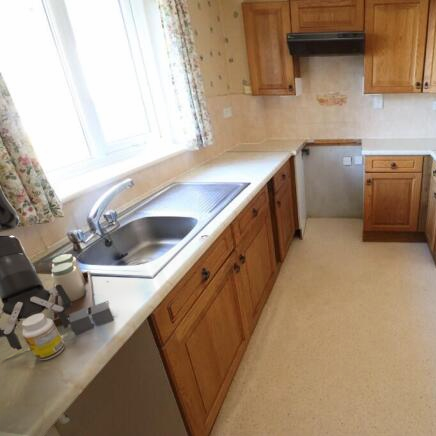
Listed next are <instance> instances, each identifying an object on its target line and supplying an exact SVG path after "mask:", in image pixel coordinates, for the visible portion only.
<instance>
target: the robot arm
mask: <svg viewBox="0 0 436 436" xmlns="http://www.w3.org/2000/svg"><path fill="white" fill-rule="evenodd" d="M19 224H20V216H19V214H18V212H17V210H16V209H15V208H14V206H12V204H11V203H10V201H9V200H8V198H7V197H6V195H5V193H4V191H3V189H2V186H1V185H0V234H1V233H6V232H11V231H14V230H15V229H16V228H17V227H18V226H19ZM53 294H54V295H55V296H59V295H60V297H61V298H62V300H63V302H64V304H63V305H62V306H59V305H56V304H54V303H52V302H51V301H49V300H50V298H51V295H53ZM0 301H1V303H2V307H1V308H0V319H1V318H2V315H3V314H6V315H9V318H8V320H7V324H6V327H5V328H4V329H1V328H0V338H4V337H5V338H6V339H7V342H8V344H9V346H10V347H11V348H12V349H13V350H15V349H16V350H18V351H19V350H22V349H23V345H22V344H21V341H20V339H19V337H18V335H17V333H15V332H16V330H17V328H18V326H19V325H20V323H21V321H22V320H25V319H26V318H28V317H30V316H32V315H35V314H39V313H41V314H42V313H43V311H44V310H46V311H49V312H52V311H53V312H56V313H58V316H59V318H60V320H61V322H62V327H63V328H64V329H68V328H69V325H70V321H69V319H68V317H67V315H66V310H67V309H69V308H71V307H72V302H71V301H70V299H69V297H68V296H67V294H66V292H65V291H64V289H63V287H62V286H61V285H60V284H59V285H56V287H55V288H54V287H52V288H51V289H46V288H45V286H44V284H43V282H42V280H41V278H40V276H39V274H38V271H37V269H36V267H35V265H34V264H33V262H32V260H31V259H30V258H29V256H28V254H27V252H26V250H25V248H24V246H23V244H22V242H21V240H20V238H18V237H17V236H14V235H0Z"/></svg>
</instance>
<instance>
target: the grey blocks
mask: <svg viewBox="0 0 436 436" xmlns="http://www.w3.org/2000/svg"><path fill="white" fill-rule="evenodd" d="M114 320H115V317H114V313H113V309H112V307H111V304H110V301H109V300H105V301H103V302H100V303H98V304H95V306H92V307H91V314H90V312H89V309H88V308H86V309H83V310H80V311H78V312H75V313H72V314H69V321H70V324H69V325H70V327H71V330H72V331H73V333H74V335H75V336H76V335H79V334H81V333H84V332H87V331H89V330H91V329H94V328H95V327H99V326H103V325H105V324H108V323H110V322H113V321H114ZM94 325H95V327H94Z"/></svg>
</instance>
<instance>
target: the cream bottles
mask: <svg viewBox="0 0 436 436" xmlns="http://www.w3.org/2000/svg"><path fill="white" fill-rule="evenodd" d="M51 262H52V264H51V267H52V268H51V270H50V271H51V274H50V276H51V278H52V280H53V284H54V283H55V285H59V284H60V285H61V286H62V287H63V289H64V291H65V292H66V294H67V296H68V297H69V299H70V301H74V300H77V299H79V298H81V297H83V296H84V295H85V294H86V289H85V287H84V284H85V282H86V281H85V279H84V276H83V274H82V273H83V272H82V270H81V268H80V265H79V262H78V261H77V258H76V257H75V256H73V255H72V253H65V254H60V255H57V256H56V257H54V258H53V259H52V260H51Z"/></svg>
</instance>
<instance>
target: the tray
mask: <svg viewBox="0 0 436 436" xmlns="http://www.w3.org/2000/svg"><path fill="white" fill-rule="evenodd" d="M82 274H83V276H84V279H85V281H86V282H85V284H84V287H85V289H86V294H85V295H84V296H83V297H81V298H79V299H77V300H74V301H71V302H72V307H71V308H69V309H67V310H66V315H67V317H68V319H69V314H72V313H75V312H78V311H80V310H83V309H86V308H88V309H89V312H90V314H91V307H92V306H95V305H96V303H95V292H94V284H93V276H92V274H91V271H90V270H87V271H84V272H82ZM55 287H56V285H55V283H54V282H53V288H55ZM51 303H54V304H56V305H59V306H62V305H63V304H64V302H63V300H62V298H61V297H60V295H59V296H55V295H54V294H52V302H51ZM50 316H51V317H50V319H51V320H53V322H54V324H55V326H56V327H58V326H59V327H60V326H61V325H62V326H63V324H62V322H61V320H60V318H59V316H58V313H56V312H53V311H51V315H50Z"/></svg>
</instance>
